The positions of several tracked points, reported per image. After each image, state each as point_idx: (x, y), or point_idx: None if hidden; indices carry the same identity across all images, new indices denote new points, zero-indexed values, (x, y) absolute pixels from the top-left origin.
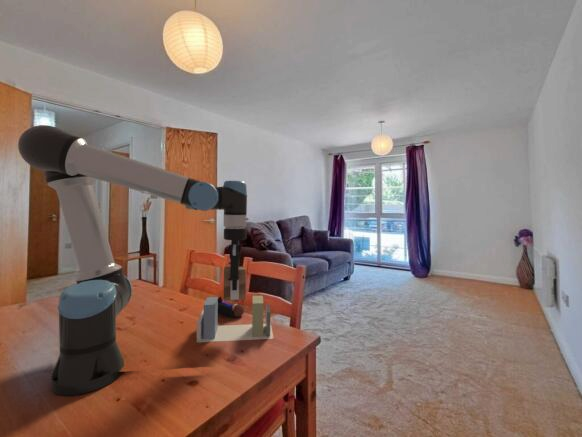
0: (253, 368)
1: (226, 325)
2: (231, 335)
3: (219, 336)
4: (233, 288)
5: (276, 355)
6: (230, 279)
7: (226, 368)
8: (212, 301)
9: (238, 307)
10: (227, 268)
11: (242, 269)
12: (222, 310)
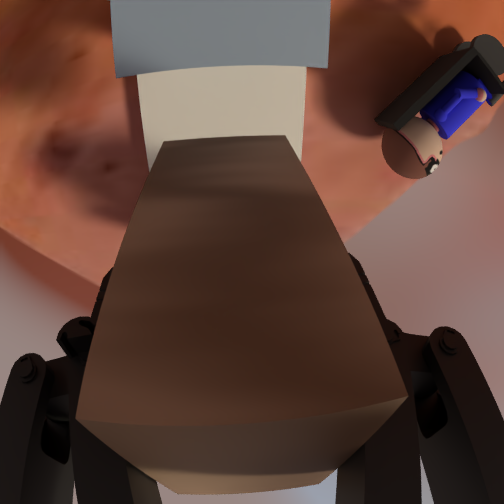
0: (30, 210)
1: (304, 88)
2: (191, 120)
3: (182, 71)
4: (105, 289)
5: (99, 260)
6: (22, 356)
7: (16, 143)
8: (201, 37)
9: (402, 160)
10: (212, 447)
11: (172, 488)
12: (427, 80)
